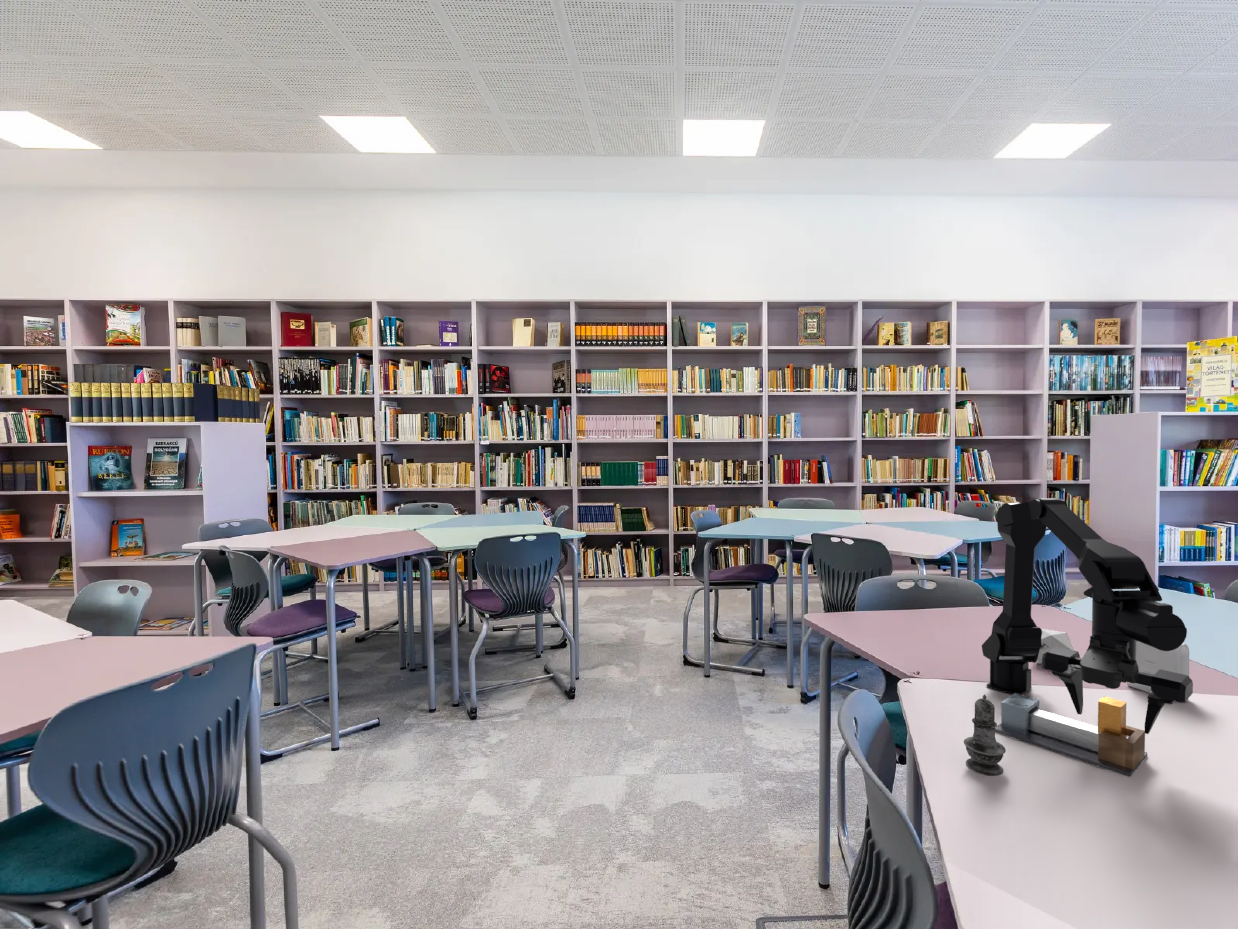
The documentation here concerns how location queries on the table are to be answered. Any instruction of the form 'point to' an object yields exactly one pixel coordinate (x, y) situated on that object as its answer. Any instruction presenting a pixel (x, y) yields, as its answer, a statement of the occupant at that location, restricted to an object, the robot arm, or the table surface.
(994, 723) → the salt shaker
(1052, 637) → the die
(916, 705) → the table surface
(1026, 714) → the long dark base plate
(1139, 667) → the photo printer
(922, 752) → the table surface
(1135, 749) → the socket block
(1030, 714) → the silver bar
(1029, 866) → the table surface
